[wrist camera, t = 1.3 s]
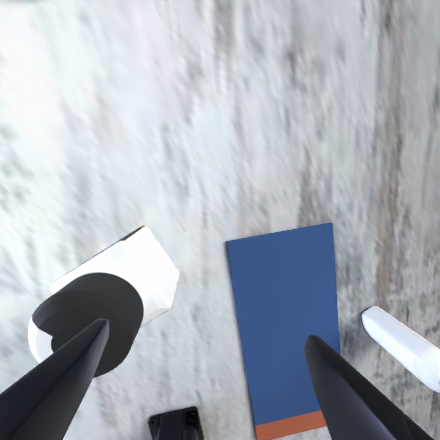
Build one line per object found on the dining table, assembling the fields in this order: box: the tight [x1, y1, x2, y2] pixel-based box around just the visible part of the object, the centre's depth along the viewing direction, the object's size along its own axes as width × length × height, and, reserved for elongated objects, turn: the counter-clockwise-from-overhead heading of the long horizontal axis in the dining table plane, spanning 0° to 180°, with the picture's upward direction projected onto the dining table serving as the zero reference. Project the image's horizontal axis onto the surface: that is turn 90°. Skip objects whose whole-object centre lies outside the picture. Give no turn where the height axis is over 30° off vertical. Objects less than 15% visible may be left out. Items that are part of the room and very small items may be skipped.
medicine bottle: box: [28, 225, 180, 378], centre depth 18 cm, size 7×7×12 cm
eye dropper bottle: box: [362, 306, 440, 393], centre depth 22 cm, size 4×6×12 cm
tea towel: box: [226, 223, 340, 440], centre depth 27 cm, size 30×13×1 cm, turn 9°
